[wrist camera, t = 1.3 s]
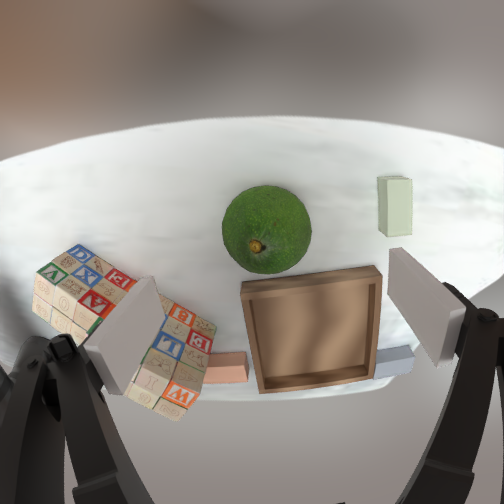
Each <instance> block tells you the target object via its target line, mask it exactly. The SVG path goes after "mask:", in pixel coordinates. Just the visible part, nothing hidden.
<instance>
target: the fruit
mask: <svg viewBox="0 0 504 504" xmlns="http://www.w3.org/2000/svg"><path fill="white" fill-rule="evenodd" d="M311 233H312V230H311V223H310V218H309V215H308V213H307V211H306V209H305V206H304V204H303V203H302V202H301V201H300V200H299V199H298V198H297V197H296V196H295V195H294V194H292V193H290V192H289V191H287V190H285V189H282V188H279V187H275V186H259V187H254V188H251V189H249V190H246V191H244V192H242V193H241V194H240V195H238V196H237V197H236V198H235V199H234V200H233V201H232V203H231V204H230V205H229V207H228V208H227V210H226V213H225V216H224V219H223V222H222V235H223V241H224V245H225V247H226V249H227V251H228V252H229V254H230V256H231V257H232V258H233V259H234V260H235V261H236V262H237V263H238V264H239V265H240V266H241V267H243V268H244V269H246V270H248V271H249V272H253V273H258V274H276V273H280V272H282V271H285V270H288V269H289V268H291V267H292V266H294V265H295V264H297V263H298V262H299V261H300V259H301V258H302V257H303V256H304V255H305V253H306V252H307V249H308V246H309V244H310V240H311Z"/></svg>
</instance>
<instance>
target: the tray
mask: <svg viewBox="0 0 504 504" xmlns="http://www.w3.org/2000/svg"><path fill="white" fill-rule="evenodd" d="M382 277H383V276H382V274H381V273H380V272H379V271H378V270H377V268H376V267H375V266H374V265H372V266H365V267H358V268H351V269H343V270H336V271H328V272H321V273H313V274H305V275H297V276H289V277H280V278H272V279H263V280H254V281H245V282H242V287H241V292H240V296H241V301H242V306H243V312H244V317H245V322H246V328H247V333H248V338H249V344H250V349H251V354H252V359H253V364H254V369H255V374H256V379H257V384H258V389H259V394H266V393H278V392H288V391H297V390H306V389H313V388H321V387H327V386H334V385H340V384H346V383H352V382H357V381H362V380H367V379H372V378H373V375H374V368H375V361H376V353H377V344H378V335H379V324H380V312H381V298H382Z"/></svg>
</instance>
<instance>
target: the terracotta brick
mask: <svg viewBox="0 0 504 504" xmlns="http://www.w3.org/2000/svg"><path fill="white" fill-rule="evenodd" d="M248 375H249V365H248V361H247V356H246V352H236V353H221V354H210V356H209V361H208V365H207V368H206V374H205V375H204V379H203V383H204V384H214V383H238V382H248Z"/></svg>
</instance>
